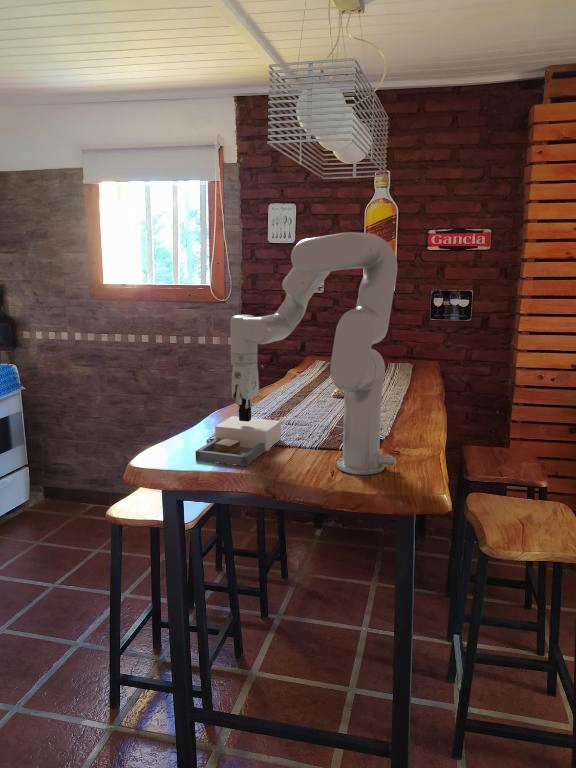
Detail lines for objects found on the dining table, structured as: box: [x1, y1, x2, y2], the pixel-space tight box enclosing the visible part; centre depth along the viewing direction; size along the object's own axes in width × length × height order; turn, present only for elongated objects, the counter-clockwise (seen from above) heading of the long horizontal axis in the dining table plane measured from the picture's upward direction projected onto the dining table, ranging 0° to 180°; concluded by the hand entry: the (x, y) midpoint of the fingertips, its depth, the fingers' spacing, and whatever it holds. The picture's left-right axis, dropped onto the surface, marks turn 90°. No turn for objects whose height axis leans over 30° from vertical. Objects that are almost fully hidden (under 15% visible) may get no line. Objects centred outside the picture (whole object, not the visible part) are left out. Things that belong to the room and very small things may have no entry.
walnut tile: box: [215, 439, 240, 454], centre depth 168 cm, size 5×5×3 cm
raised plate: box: [214, 415, 282, 453], centre depth 178 cm, size 16×12×6 cm
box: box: [195, 438, 266, 467], centre depth 167 cm, size 15×13×3 cm
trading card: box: [299, 423, 343, 437], centre depth 189 cm, size 11×1×18 cm
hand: (245, 420), depth 175 cm, fingers closed
